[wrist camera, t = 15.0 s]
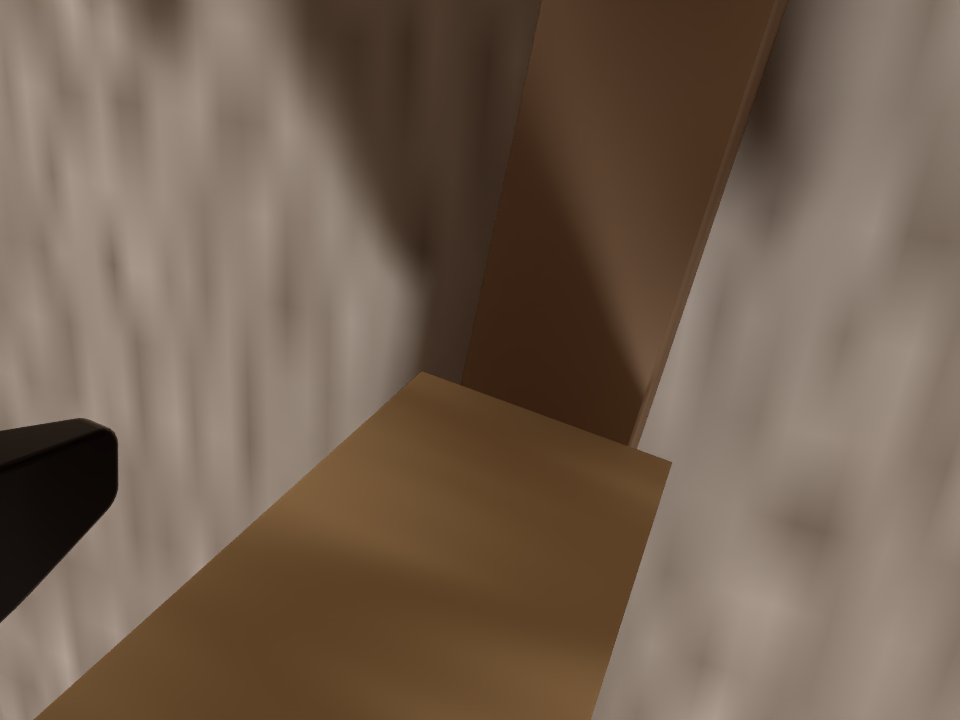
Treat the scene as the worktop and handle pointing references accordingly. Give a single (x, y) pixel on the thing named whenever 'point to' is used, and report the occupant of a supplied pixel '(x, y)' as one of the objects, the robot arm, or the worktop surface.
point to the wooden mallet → (490, 425)
